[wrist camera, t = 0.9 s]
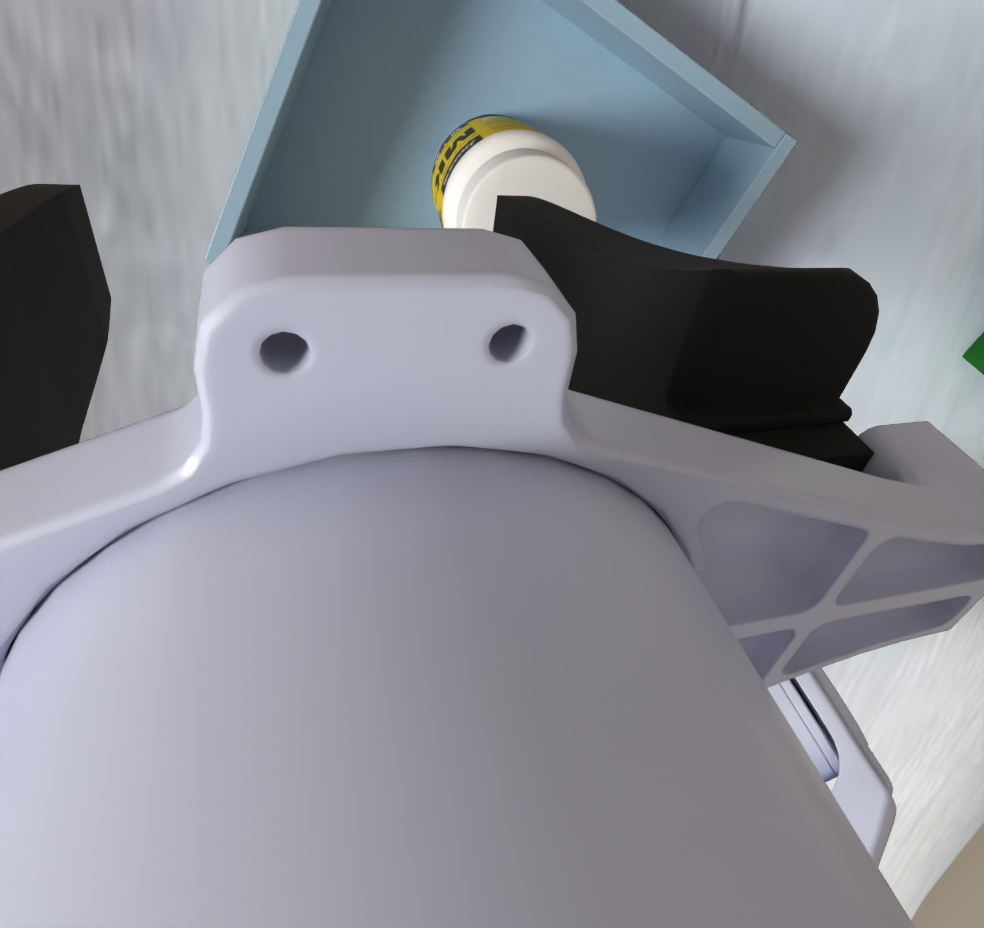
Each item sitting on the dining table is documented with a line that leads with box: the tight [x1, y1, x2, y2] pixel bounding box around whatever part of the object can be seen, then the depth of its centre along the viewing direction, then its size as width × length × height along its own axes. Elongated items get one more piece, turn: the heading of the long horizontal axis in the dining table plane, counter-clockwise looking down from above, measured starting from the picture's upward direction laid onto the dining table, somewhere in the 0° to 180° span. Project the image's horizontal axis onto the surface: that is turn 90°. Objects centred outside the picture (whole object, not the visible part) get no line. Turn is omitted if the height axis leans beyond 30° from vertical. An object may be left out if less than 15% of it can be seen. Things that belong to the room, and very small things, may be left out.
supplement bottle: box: [431, 114, 596, 232], centre depth 23 cm, size 5×5×8 cm
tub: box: [204, 0, 797, 264], centre depth 25 cm, size 16×13×4 cm
